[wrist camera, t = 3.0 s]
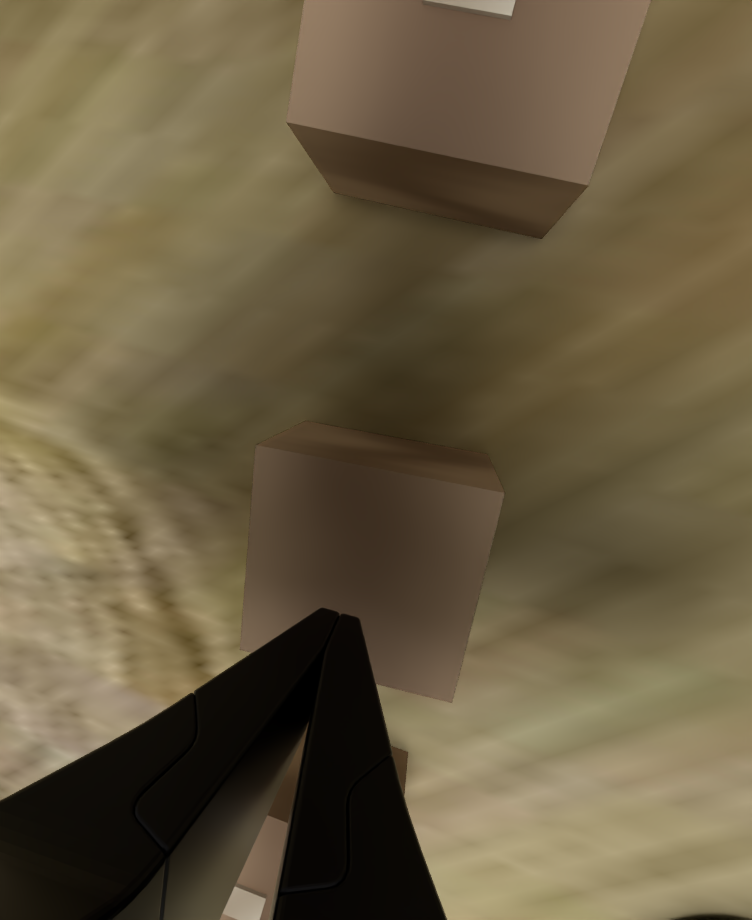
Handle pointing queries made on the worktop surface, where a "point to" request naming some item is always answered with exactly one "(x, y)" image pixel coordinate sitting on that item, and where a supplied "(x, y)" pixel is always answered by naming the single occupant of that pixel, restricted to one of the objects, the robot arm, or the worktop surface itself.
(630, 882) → the worktop surface
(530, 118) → the one-pip walnut block
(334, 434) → the plain walnut block
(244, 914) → the two-pip walnut block
